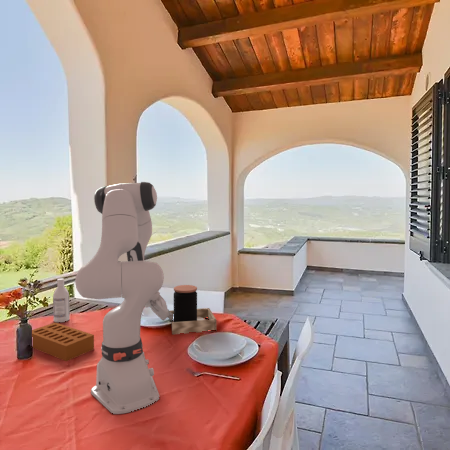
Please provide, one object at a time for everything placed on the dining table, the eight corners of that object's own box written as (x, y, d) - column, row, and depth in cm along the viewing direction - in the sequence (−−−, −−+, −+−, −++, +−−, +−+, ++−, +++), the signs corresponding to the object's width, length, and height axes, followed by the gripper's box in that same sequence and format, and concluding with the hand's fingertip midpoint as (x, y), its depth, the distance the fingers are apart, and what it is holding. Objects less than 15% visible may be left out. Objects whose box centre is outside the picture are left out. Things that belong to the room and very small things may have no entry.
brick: (94, 349, 133) (94, 334, 132) (66, 362, 122) (65, 346, 122) (55, 336, 145) (55, 322, 145) (27, 346, 135) (26, 331, 135)
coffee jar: (199, 323, 161) (199, 285, 160) (193, 331, 151) (193, 291, 150) (177, 321, 163) (177, 284, 162) (170, 329, 153) (170, 290, 152)
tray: (172, 334, 148) (172, 323, 147) (169, 320, 164) (169, 310, 164) (216, 330, 152) (216, 319, 152) (209, 317, 169) (209, 307, 168)
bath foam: (61, 317, 168) (60, 276, 166) (72, 318, 165) (72, 278, 164) (50, 321, 161) (49, 279, 160) (61, 323, 159) (60, 281, 157)
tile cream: (196, 325, 160) (196, 321, 159) (190, 322, 163) (190, 318, 163) (205, 323, 163) (205, 319, 162) (199, 320, 167) (199, 316, 166)
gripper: (156, 299, 143) (179, 320, 146) (154, 286, 163) (175, 305, 166) (145, 310, 142) (169, 331, 145) (144, 296, 162) (165, 315, 165)
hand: (172, 317), depth 156 cm, fingers closed, pressing on coffee jar
